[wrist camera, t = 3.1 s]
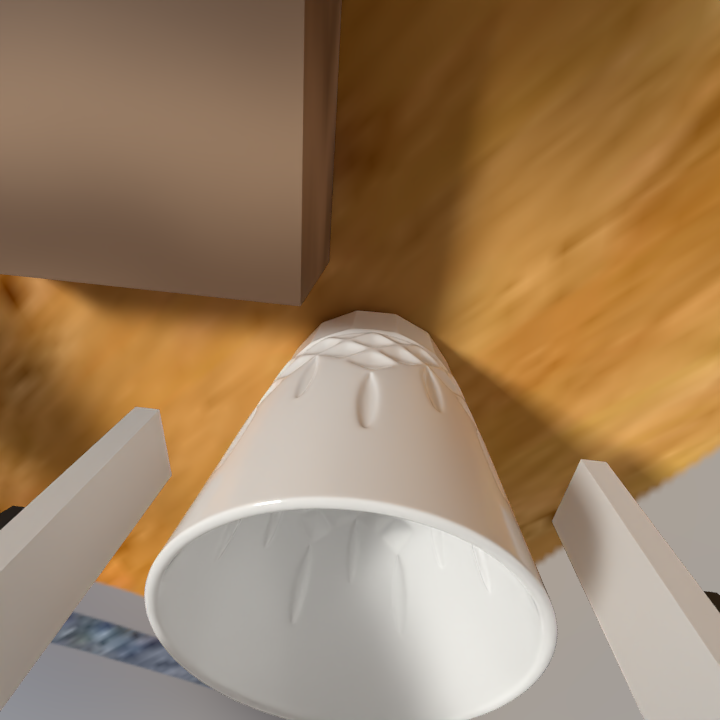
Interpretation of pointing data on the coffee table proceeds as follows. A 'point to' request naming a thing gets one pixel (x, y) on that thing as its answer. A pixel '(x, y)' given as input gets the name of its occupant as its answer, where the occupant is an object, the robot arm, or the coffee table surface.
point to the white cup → (356, 546)
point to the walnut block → (169, 143)
